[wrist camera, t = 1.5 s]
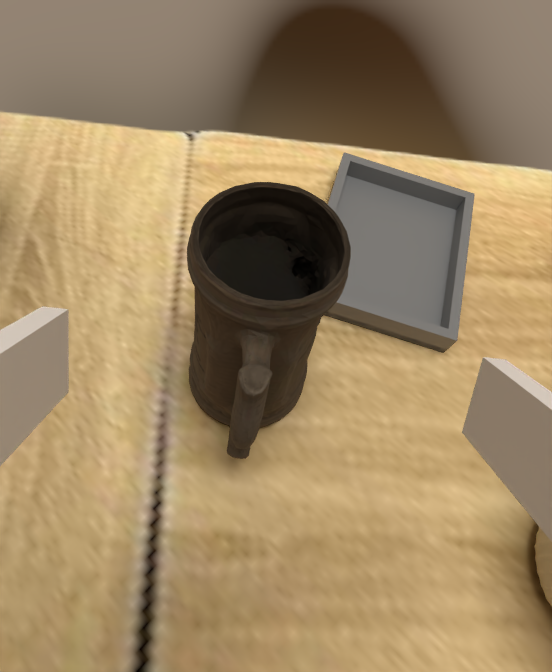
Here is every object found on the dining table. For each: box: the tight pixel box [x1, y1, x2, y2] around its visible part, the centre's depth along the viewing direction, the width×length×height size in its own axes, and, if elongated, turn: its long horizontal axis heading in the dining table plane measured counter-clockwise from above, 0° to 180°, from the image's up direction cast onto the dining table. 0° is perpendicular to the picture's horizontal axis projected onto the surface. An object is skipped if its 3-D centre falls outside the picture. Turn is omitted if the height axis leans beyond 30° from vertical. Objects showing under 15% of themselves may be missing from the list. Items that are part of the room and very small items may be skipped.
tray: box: [324, 153, 474, 353], centre depth 52 cm, size 16×20×3 cm
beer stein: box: [187, 182, 351, 459], centre depth 35 cm, size 15×11×20 cm
